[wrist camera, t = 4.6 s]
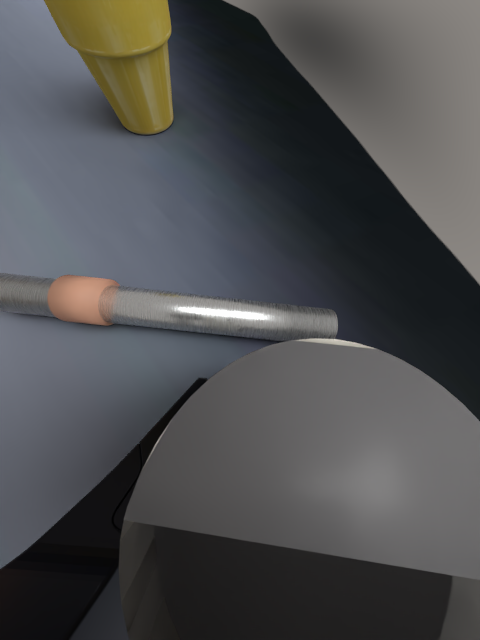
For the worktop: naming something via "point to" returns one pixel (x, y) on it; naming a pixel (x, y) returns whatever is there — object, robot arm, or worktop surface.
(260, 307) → the grey steel rod
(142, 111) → the plant pot
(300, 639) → the white grey cylinder
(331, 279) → the worktop surface
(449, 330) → the worktop surface
